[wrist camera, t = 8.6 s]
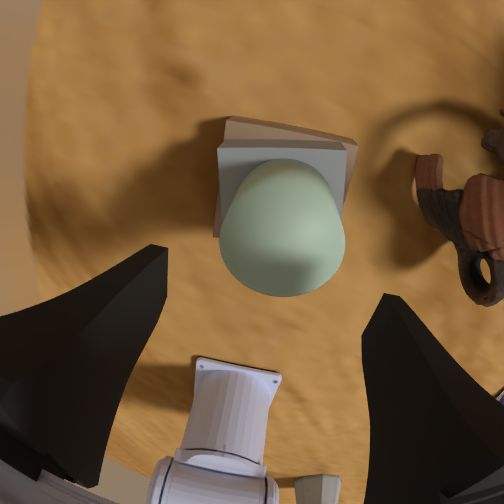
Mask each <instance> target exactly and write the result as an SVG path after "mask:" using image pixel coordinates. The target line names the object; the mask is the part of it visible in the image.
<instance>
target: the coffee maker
mask: <svg viewBox="0 0 504 504" xmlns="http://www.w3.org/2000/svg"><path fill="white" fill-rule="evenodd" d="M341 482H342V480H341V479H340V477H339V476H334V475H326V474H320V475H310V476H303V477H301V478H299V479H297V480H294V486H295V495H296V504H338V499H339V494H340V488H341Z"/></svg>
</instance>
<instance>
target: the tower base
mask: <svg viewBox="0 0 504 504" xmlns="http://www.w3.org/2000/svg"><path fill="white" fill-rule="evenodd" d="M233 139H285V140H315V141H334V142H341V143H342V144H343V146H344V147H345V148H346V150H347V159H346V173H345V186H344V197H343V204H344V201H345V197H346V194H347V190H348V187H349V183H350V179H351V175H352V172H353V168H354V164H355V160H356V156H357V153H358V149H359V146H358V145H357V144H356V143H355V141H354V140H353V139H350V138H346V137H342V136H338V135H334V134H329V133H325V132H321V131H316V130H311V129H307V128H302V127H297V126H292V125H287V124H281V123H276V122H270V121H264V120H258V119H252V118H245V117H239V116H232V117H230V118H229V119H227V120H226V126H225V133H224V140H233ZM221 226H222V212H221V198H220V184H219V183H218V192H217V201H216V211H215V221H214V230H213V237H217V238H220V231H221Z"/></svg>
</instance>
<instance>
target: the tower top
mask: <svg viewBox="0 0 504 504" xmlns="http://www.w3.org/2000/svg"><path fill="white" fill-rule="evenodd" d="M217 155H218V170H219V184H220V198H221V212H222V224H223V221H224V219H225V217H226V214H227V212H228V210H229V208H230V205H231V203H232V201H233V199H234V197H235V194H236V192H237V190H238V188H239V186H240V184H241V182H242V180H243V179H244V177H245V176H246V175H247V174H248V173H249V172H250V171H251V170H252V169H253V168H255V167H256V166H258V165H260V164H262V163H264V162H266V161H269V160H274V159H281V158H285V159H295V160H298V161H302V162H304V163H306V164H309V165H310V166H312V167H314V168H315V169H316V170H317V171H319V172H320V173H321V174H322V176H323V177H324V178H325V179H326V181H327V182H328V184H329V186H330V188H331V191H332V194H333V197H334V201H335V204H336V207H337V210H338V213H339V217H340V220H341V217H342V208H343V197H344V186H345V173H346V159H347V150H346V148H345V147H344V146H343V144H342V143H341V142H334V141H315V140H285V139H233V140H224V141H223V142H222V144H221V145H220V146H219V147H218V148H217Z"/></svg>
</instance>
